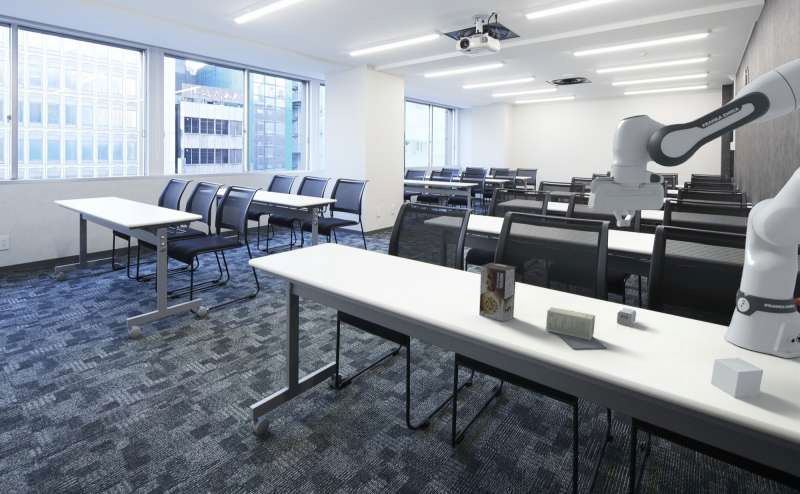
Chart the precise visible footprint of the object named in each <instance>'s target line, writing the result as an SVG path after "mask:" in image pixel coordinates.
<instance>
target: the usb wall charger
mask: <svg viewBox="0 0 800 494" xmlns="http://www.w3.org/2000/svg"><path fill="white" fill-rule="evenodd" d="M636 317H637V311H636V310H635V309H630V308H628V307H627V308H626V307H623V308H621V310H619V311H618V312H617V317H616V324H617V325H622V326H626V327H631V326H632V325H633V324H634V323H635V322H636Z"/></svg>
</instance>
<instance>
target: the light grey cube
mask: <svg viewBox="0 0 800 494" xmlns="http://www.w3.org/2000/svg"><path fill="white" fill-rule="evenodd" d="M763 373H764V369H762V368H760V367H758V366H756V365H753V364H752V363H749V362H748V361H746V360H743V359H742V358H739V357H730V358H729V357H728V358H717V359H714V364H713V368H712V375H711V382H710V384H711V385H712V386H713V387H714V388H715V387H716V388H717V389H719V390H720V391H722V392H723V393H725V394H727V395H729V396H731V397H732V398H734V399H735V398H747V397H748V398H749V397H758V396H760V391H761V390H760V389H761V385H762V381H763V380H762V379H763V375H764V374H763Z"/></svg>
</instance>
